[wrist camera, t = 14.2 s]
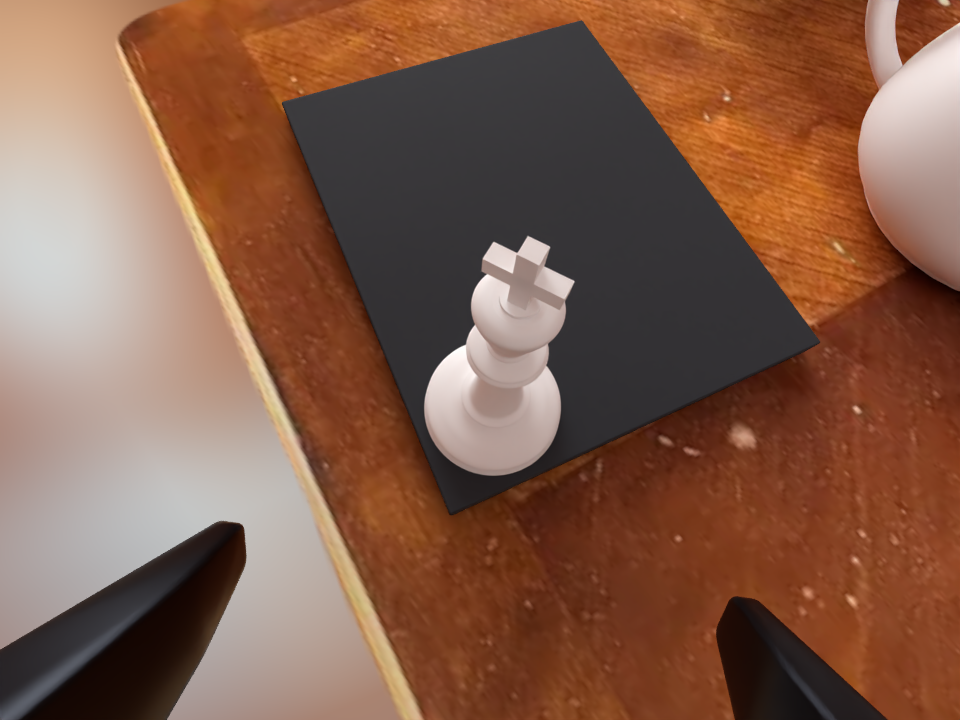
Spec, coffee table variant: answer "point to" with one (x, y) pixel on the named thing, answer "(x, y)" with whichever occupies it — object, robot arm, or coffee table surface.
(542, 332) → the chess piece
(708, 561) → the coffee table surface
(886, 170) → the teapot
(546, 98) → the mat
